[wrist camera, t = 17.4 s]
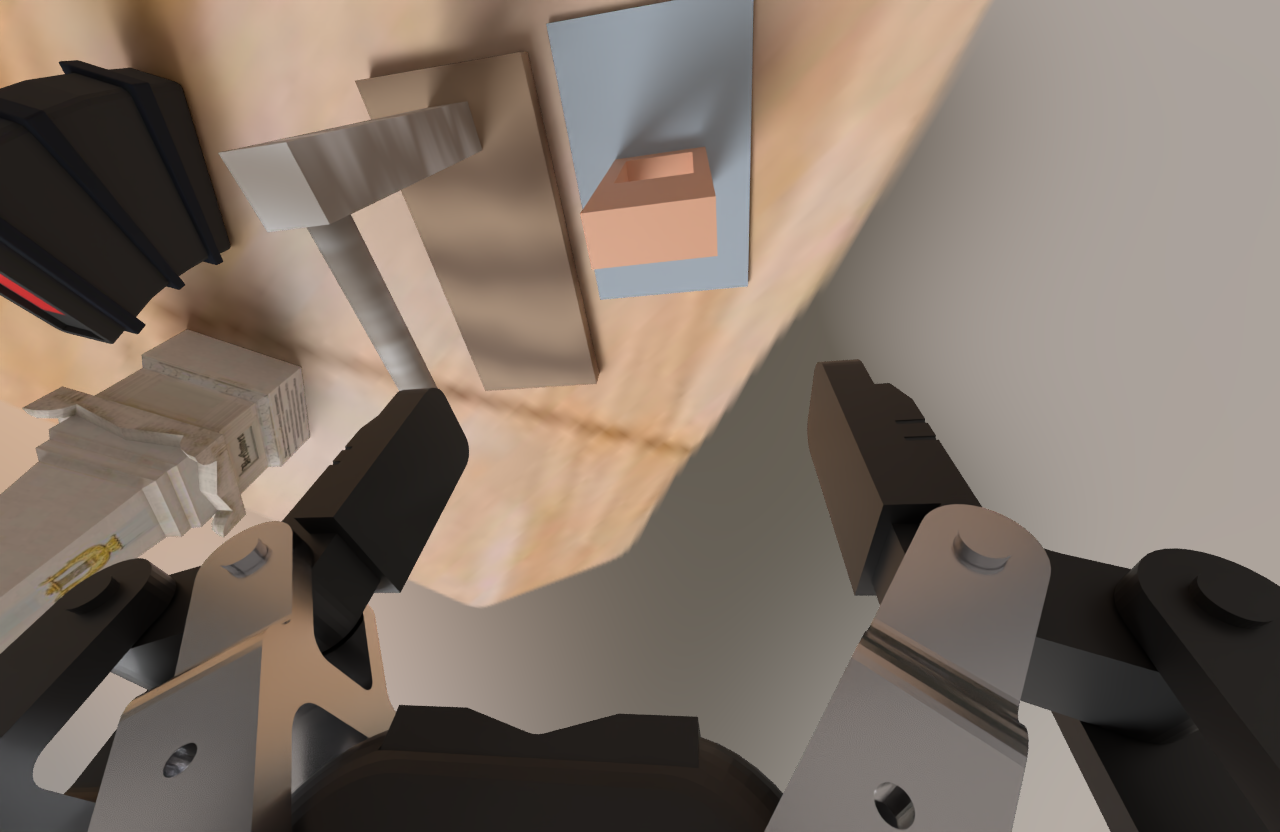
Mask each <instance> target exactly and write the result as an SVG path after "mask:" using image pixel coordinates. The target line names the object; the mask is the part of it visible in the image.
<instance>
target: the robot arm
mask: <svg viewBox="0 0 1280 832" xmlns="http://www.w3.org/2000/svg"><path fill="white" fill-rule="evenodd" d="M807 425H808V426H807V434H808V444H809V449H810V453H811V457H812V460H813V463H814V466H815V469H816V473H817V476H818V479H819V482H820V485H821V489H822V492H823V495H824V498H825V502H826V505H827V508H828V511H829V514H830V517H831V521H832V524H833V527H834V530H835V534H836V537H837V540H838V543H839V547H840V550H841V553H842V556H843V559H844V563H845V566H846V569H847V572H848V576H849V579H850V582H851V585H852V588H853V592H854V595H876V596H877V598H878V601H879V604H880V607H879V609H878V611H877V613H876V615H875V617H874V619H873V621H872V623H871V625H870V627H869V628H868V630H867V631H865V633H864V635H863V636H862V638H861V640H860V642H859V644H858V645H857V648H856V649H855V651H854V653H853V655H852V657H851V659H850V661H849V663H848V665H847V667H846V669H845V671H844V673H843V675H842V677H841V679H840V681H839V683H838V685H837V687H836V689H835V691H834V693H833V695H832V697H831V699H830V702H829V703H828V705H827V707H826V709H825V711H824V713H823V715H822V717H821V719H820V721H819V723H818V725H817V727H816V729H815V731H814V733H813V736H812V737H811V739H810V741H809V743H808V745H807V747H806V749H805V751H804V753H803V755H802V757H801V759H800V761H799V763H798V765H797V768H796V769H795V771H794V773H793V775H792V777H791V779H790V781H789V783H788V786H787V787H786V789H785V791H784V793H782V792H781V791H780V790H779V789H778V788H777V786H776V785H775V784H774V783H773V782H772V781H770V780H769V779H768V778H767V777H766V776H765V775H764V774H763V773H762V772H761V771H760V770H759V769H757V768H756V767H755V766H753V765H752V764H750V763H749V762H748V761H747V760H745V759H744V758H742V757H741V756H740V755H738V754H737V753H735V752H733V751H731V750H729V749H727V748H725V747H723V746H722V745H720V744H718V743H715V742H713V741H710V740H707V739H704V738H702V737H701V735H700V729H699V723H698V717H687V716H662V715H635V714H616V715H612V716H609V717H605V718H601V719H598V720H593V721H590V722H586V723H582V724H578V725H575V726H571V727H568V728H564V729H559V730H556V731H552V732H548V733H544V734H531V733H528V732H525V731H523V730H520V729H518V728H515V727H513V726H510V725H508V724H506V723H503V722H501V721H499V720H496V719H494V718H491V717H488V716H486V715H484V714H481V713H479V712H476V711H474V710H472V709H469V708H461V707H460V708H458V707H435V706H434V707H433V706H410V705H409V706H408V705H399V707H398V709H397V711H395V710H394V708H393V706H392V705H391V702H390V700H389V697H388V693H387V688H386V681H385V676H384V669H383V664H382V657H381V650H380V644H379V638H378V633H377V626H376V619H375V614H374V611H373V610H372V608H371V607H370V606H369V605H368V602H369V601H370V599H371V597H372V595H373V594H374V593H400V592H401V590H402V589H403V587H404V585H405V583H406V581H407V579H408V577H409V575H410V573H411V571H412V569H413V567H414V566H415V564H416V562H417V560H418V558H419V556H420V554H421V552H422V550H423V548H424V546H425V544H426V542H427V540H428V539H429V537H430V535H431V533H432V531H433V529H434V527H435V525H436V523H437V521H438V519H439V517H440V515H441V513H442V512H443V510H444V508H445V506H446V504H447V502H448V500H449V498H450V496H451V494H452V492H453V490H454V488H455V486H456V485H457V483H458V481H459V479H460V477H461V475H462V473H463V471H464V469H465V467H466V465H467V462H468V458H469V446H468V442H467V439H466V436H465V434H464V432H463V430H462V428H461V426H460V424H459V422H458V421H457V419H456V417H455V415H454V413H453V411H452V409H451V407H450V405H449V403H448V401H447V399H446V397H445V395H444V393H443V392H442V391H441V390H440V389H438V388H421V389H406V390H401V391H399V392H398V393H397V394H396V395H395V396H394V397H393V399H392V400H391V401H390V402H389V403H388V405H387V406H386V407H385V408H384V409H383V411H382V412H381V413H380V414H379V415H378V416H377V417H376V418H374V419H373V420H372V421H370V422H369V423H368V424H366V425H365V426H364V427H362V428H361V429H360V430H359V431H358V432H357V433H356V434H355V436H354V437H353V438H352V439H351V440H350V442H349V443H348V444H347V445H346V446H345V448H346V449H345V450H342V451H341V452H340V453H339V455H338V456H337V457H336V458H335V459H334V460H333V465H329V466H328V468H327V469H326V470H325V471H324V472H323V473H322V475H321V476H320V477H319V478H318V479H317V481H316V482H315V483H314V484H313V485H312V486H311V488H310V489H309V490H308V491H307V492H306V494H305V495H304V496H303V497H302V498H301V500H300V501H299V502H298V503H297V504H296V505H295V507H294V508H293V509H292V510H291V511H290V513H289V514H288V515H287V516H286V517H285V518H284V520H283V521H282V522H279V521H272V522H266V523H262V524H258V525H255V526H253V527H250V528H248V529H246V530H244V531H242V532H240V533H238V534H237V535H235V536H233V537H232V538H230V539H229V540H228V541H226V542H225V543H224V544H222V545H221V546H220V547H218V548H217V549H216V550H215V551H214V552H213V553H212V554H211V555H210V556H209V557H208V558H207V559H206V560H205V562H204V563H203V564H202V566H199V567H196V568H192V569H188V570H185V571H181V572H178V573H175V574H171V575H168V574H166V573H165V572H163V571H162V570H161V569H159V568H158V567H156V566H155V565H153V564H152V563H151V562H149V561H148V560H146V559H141V558H140V559H139V558H136V559H129V560H125V561H122V562H119V563H116V564H113V565H111V566H109V567H107V568H104V569H102V570H101V571H99V572H97V573H95V574H93V575H92V576H90V577H88V578H87V579H85V580H83V581H82V582H80V583H79V584H78V585H76V586H75V587H73V588H72V589H71V590H70V591H68V592H67V593H66V594H65V595H63V596H62V597H61V598H60V599H59V600H58V601H57V602H56V603H55V604H54V605H52V606H51V607H50V608H49V609H48V610H47V611H46V612H45V613H44V614H43V615H42V616H41V617H40V618H38V619H37V620H36V621H35V622H34V623H33V624H32V625H31V626H30V627H29V628H28V629H27V630H25V631H24V632H23V633H22V634H21V635H20V636H19V637H18V638H17V639H16V640H15V641H14V642H13V643H11V644H10V645H9V646H8V647H7V648H6V649H5V650H4V651H3V652H2V653H1V654H0V832H1012V827H1013V822H1014V818H1015V813H1016V809H1017V804H1018V800H1019V795H1020V790H1021V786H1022V781H1023V776H1024V772H1025V767H1026V762H1027V755H1028V742H1029V740H1028V732H1027V729H1026V728H1025V726H1024V725H1022V724H1021V723H1019V721H1018V709H1019V703H1020V700H1021V701H1024V702H1027V703H1030V704H1033V705H1036V706H1039V707H1042V708H1045V709H1048V710H1051V711H1052V713H1053V716H1054V717H1055V720H1056V722H1057V723H1058V726H1059V727H1060V730H1061V732H1062V734H1063V736H1064V738H1065V740H1066V742H1067V744H1068V746H1069V748H1070V750H1071V752H1072V754H1073V756H1074V758H1075V760H1076V762H1077V764H1078V766H1079V768H1080V770H1081V772H1082V774H1083V776H1084V778H1085V780H1086V782H1087V784H1088V786H1089V788H1090V791H1091V792H1092V794H1093V796H1094V799H1095V800H1096V803H1097V805H1098V806H1099V809H1100V811H1101V813H1102V815H1103V817H1104V819H1105V821H1106V823H1107V825H1108V827H1109V829H1110V831H1111V832H1280V586H1278V585H1277V584H1275V583H1273V582H1272V581H1270V580H1269V579H1267V578H1265V577H1264V576H1261V575H1260V574H1258V573H1256V572H1254V571H1252V570H1250V569H1248V568H1246V567H1244V566H1241V565H1239V564H1237V563H1235V562H1232V561H1229V560H1226V559H1224V558H1221V557H1218V556H1214V555H1211V554H1207V553H1203V552H1198V551H1193V550H1187V549H1162V550H1157V551H1154V552H1151V553H1149V554H1147V555H1146V556H1145V557H1143V558H1142V559H1141V560H1140V561H1139V562H1138V563H1137V564H1136V565H1135V566H1134V567H1133V568H1132V569H1128V568H1123V567H1119V566H1114V565H1110V564H1105V563H1101V562H1097V561H1092V560H1088V559H1083V558H1079V557H1074V556H1070V555H1065V554H1061V553H1057V552H1054V551H1050V550H1047V549H1044V548H1043V547H1042V545H1041V544H1040V543H1039V542H1038V540H1036V538H1035V537H1034V536H1033V535H1032V534H1031V533H1030V532H1028V531H1027V530H1026V529H1025V528H1024V527H1022V526H1021V525H1019V524H1018V523H1016V522H1015V521H1013V520H1011V519H1009V518H1008V517H1006V516H1004V515H1002V514H999V513H997V512H995V511H992V510H989V509H986V508H983V507H982V506H981V505H980V503H979V501H978V500H977V498H976V497H975V496H974V494H973V492H972V491H971V489H970V488H969V486H968V484H967V483H966V481H965V480H964V478H963V477H962V475H961V474H960V472H959V471H958V469H957V467H956V466H955V464H954V463H953V461H952V460H951V458H950V457H949V455H948V454H947V452H946V451H945V449H944V448H943V446H942V444H941V443H940V441H939V440H936V438H935V437H936V435H935V433H934V432H933V431H932V429H931V427H930V426H929V424H928V423H925V418H924V416H923V415H922V414H921V412H920V410H919V409H918V407H917V406H916V404H915V403H914V401H913V400H912V399H911V398H910V397H909V396H907V395H906V394H904V393H903V392H901V391H900V390H899V389H897V388H896V387H894V386H893V385H892V384H890V383H884V384H874V383H873V381H872V379H871V377H870V376H869V374H868V372H867V370H866V368H865V367H864V365H863V363H862V362H861V361H860V360H858V359H854V360H841V361H827V362H826V361H825V362H818V363H817V364H816V367H815V370H814V377H813V385H812V393H811V400H810V408H809V415H808V424H807ZM110 672H112V673H114V674H116V675H119V676H120V677H123V678H124V679H126V680H128V681H131V682H133V683H135V684H137V685H139V686H141V687H143V688H145V689H147V691H146V692H145V693H143V694H141V695H140V696H137V697H136V698H135V699H134V700H132V701H131V702H130V703H129V704H128V706H127V707H126V708H125V710H124V712H123V714H122V715H121V718H120V721H119V724H118V727H117V730H116V731H115V732H114V733H113V734H112V736H111V737H110V738H109V740H108V741H107V742H106V744H105V745H104V746H103V747H102V748H101V750H100V751H99V752H98V754H97V755H96V756H95V757H94V759H93V760H92V761H91V763H90V764H89V765H88V766H87V768H86V769H85V770H84V772H83V773H82V774H81V775H80V776H79V778H78V779H77V780H76V782H75V783H74V784H73V785H72V786H71V788H70V789H68V790H67V792H65V793H64V794H60V793H56V792H52V791H48V790H44V789H42V788H39V787H38V786H37V785H36V784H35V782H34V781H33V768H34V764H35V762H36V760H37V758H38V756H39V755H40V753H41V752H42V750H43V749H44V748H45V746H46V745H47V744H48V743H49V742H50V740H52V738H53V737H54V736H55V735H56V734H57V732H58V731H59V730H60V729H61V728H62V727H63V726H64V725H65V723H66V722H67V721H68V720H69V719H70V718H71V716H72V715H73V714H74V713H75V712H76V711H77V710H78V708H79V707H80V706H81V705H82V704H83V703H84V702H85V700H86V699H87V698H88V697H89V696H90V695H91V693H92V692H93V691H94V690H95V689H96V688H97V687H98V685H99V684H100V683H101V682H102V681H103V680H104V679H105V677H106V676H107V675H108V674H109V673H110Z"/></svg>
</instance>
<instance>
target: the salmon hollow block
mask: <svg viewBox="0 0 1280 832" xmlns="http://www.w3.org/2000/svg"><path fill="white" fill-rule="evenodd" d="M580 215H581V220H582V225H583V229H584V234H585V239H586V244H587V249H588V254H589V258H590V263H591V268H592V270H593V269H602V268H612V267H621V266H630V265H639V264H648V263H658V262H667V261H676V260H685V259H694V258H704V257H713V256H718V252H717V219H716V195H715V190H714V185H713V181H712V176H711V171H710V167H709V162H708V157H707V152H706V148H705V147H698V148H692V149H685V150H678V151H671V152H664V153H657V154H650V155H643V156H636V157H629V158H622V159H615V161H614V162H613V164H612V165H611V167H610V168H609V170H608V172H607V173H606V175H605V176H604V178H603V179H602V181H601V182H600V184H599V185H598V187H597V188H596V190H595V192H594V193H593V195H592V196H591V198H590V199H589V201H588V202H587V204H586V205H585V207H584V208H583V210H582V212H581V213H580Z"/></svg>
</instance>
